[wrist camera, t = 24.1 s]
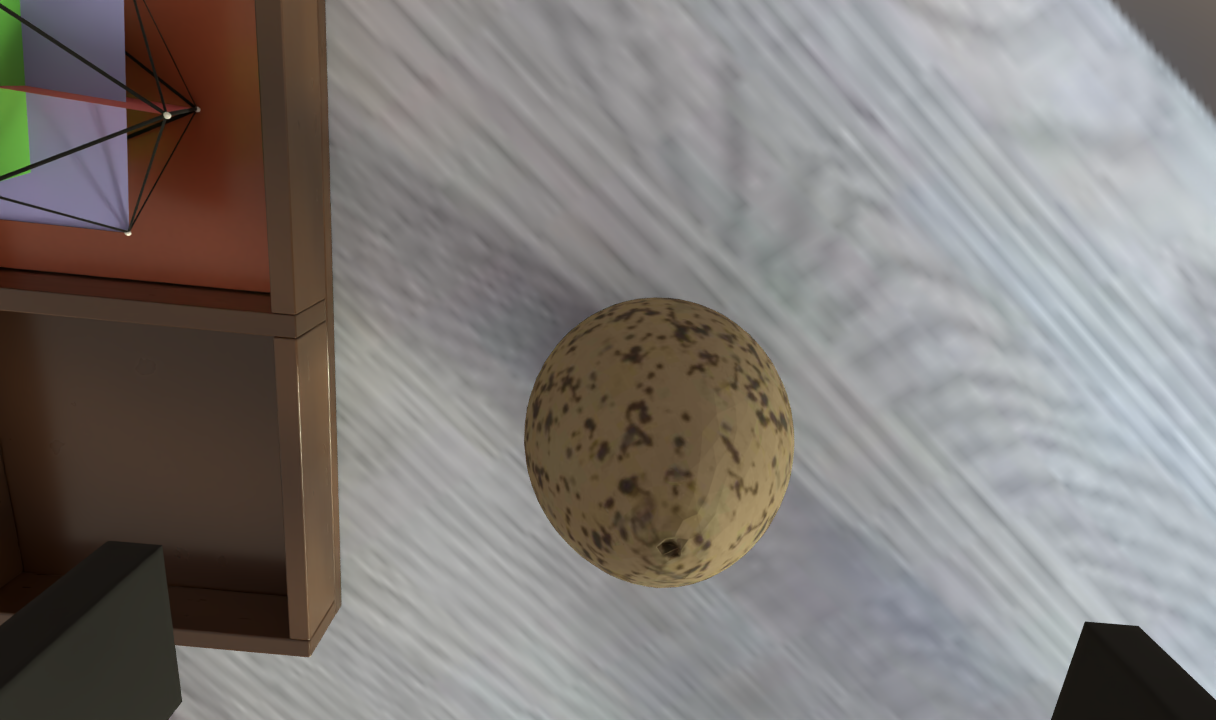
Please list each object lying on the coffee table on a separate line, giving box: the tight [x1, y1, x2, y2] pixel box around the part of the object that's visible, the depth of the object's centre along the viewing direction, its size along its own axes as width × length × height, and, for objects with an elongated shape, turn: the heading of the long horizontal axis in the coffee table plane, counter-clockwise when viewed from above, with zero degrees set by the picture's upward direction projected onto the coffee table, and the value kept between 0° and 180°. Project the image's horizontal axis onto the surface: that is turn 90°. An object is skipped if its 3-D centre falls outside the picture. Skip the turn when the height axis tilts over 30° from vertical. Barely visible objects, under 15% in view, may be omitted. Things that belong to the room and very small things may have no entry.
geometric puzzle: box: [0, 0, 201, 236], centre depth 17 cm, size 7×7×8 cm
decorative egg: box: [524, 298, 794, 588], centre depth 19 cm, size 7×7×10 cm
